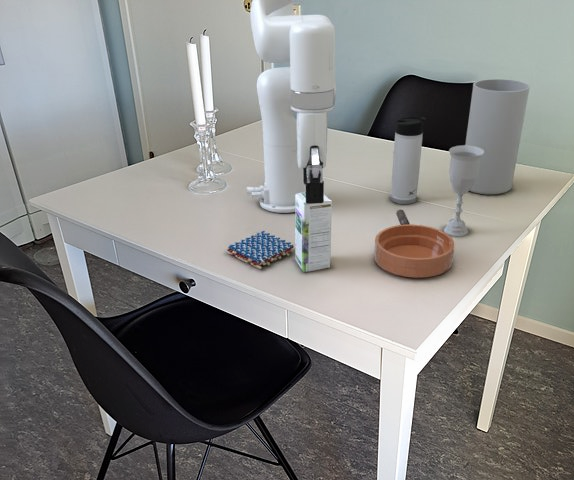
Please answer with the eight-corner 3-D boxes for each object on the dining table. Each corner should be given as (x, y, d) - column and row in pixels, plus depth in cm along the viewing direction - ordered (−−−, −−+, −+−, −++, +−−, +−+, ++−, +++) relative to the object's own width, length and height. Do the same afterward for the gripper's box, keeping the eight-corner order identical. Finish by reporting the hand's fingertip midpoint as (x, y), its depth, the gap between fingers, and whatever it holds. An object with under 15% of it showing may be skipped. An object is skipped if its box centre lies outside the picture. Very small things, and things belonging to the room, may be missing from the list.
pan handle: (411, 232, 126) (411, 225, 125) (402, 233, 126) (403, 225, 125) (403, 215, 134) (404, 207, 133) (395, 215, 134) (395, 208, 133)
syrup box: (294, 259, 123) (293, 193, 115) (321, 255, 124) (322, 188, 117) (303, 273, 118) (302, 204, 111) (331, 268, 120) (333, 199, 112)
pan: (380, 281, 115) (381, 260, 112) (369, 244, 128) (370, 225, 125) (460, 279, 115) (463, 258, 113) (441, 242, 128) (443, 223, 126)
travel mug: (417, 205, 145) (425, 122, 134) (389, 203, 146) (395, 121, 135) (418, 195, 150) (425, 114, 140) (391, 194, 151) (396, 113, 141)
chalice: (449, 221, 137) (459, 143, 127) (477, 229, 133) (489, 149, 124) (433, 232, 132) (442, 152, 123) (462, 241, 128) (474, 159, 119)
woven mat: (224, 254, 126) (223, 245, 125) (262, 237, 132) (262, 229, 131) (258, 271, 119) (257, 262, 118) (296, 252, 125) (296, 244, 124)
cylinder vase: (489, 199, 146) (507, 94, 134) (449, 185, 155) (462, 84, 142) (521, 187, 153) (541, 85, 140) (481, 173, 161) (496, 76, 148)
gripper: (289, 89, 112) (291, 177, 120) (292, 112, 97) (294, 211, 105) (330, 87, 112) (329, 176, 120) (339, 111, 97) (337, 210, 105)
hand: (313, 192), depth 113 cm, fingers open, 9 cm apart
